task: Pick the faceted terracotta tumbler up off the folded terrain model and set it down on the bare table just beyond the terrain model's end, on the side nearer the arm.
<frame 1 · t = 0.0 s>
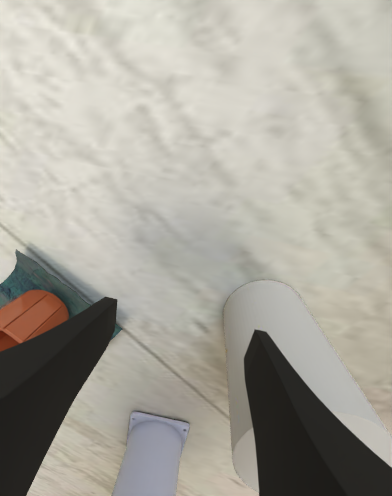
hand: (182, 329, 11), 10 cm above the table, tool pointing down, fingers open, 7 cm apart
white cylinder: (262, 313, 23), on the table
faceted terracotta tumbler: (44, 311, 22), point 2 cm above the table, touching terrain model
terrain model: (65, 302, 24), on the table, touching faceted terracotta tumbler
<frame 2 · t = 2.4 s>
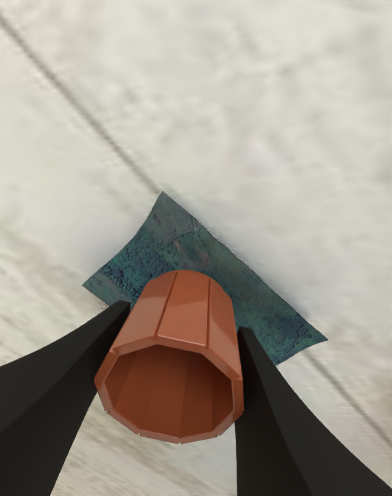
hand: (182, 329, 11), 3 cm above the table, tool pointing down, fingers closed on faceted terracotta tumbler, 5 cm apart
faceted terracotta tumbler: (185, 309, 13), point 2 cm above the table, touching gripper
terrain model: (204, 294, 15), on the table
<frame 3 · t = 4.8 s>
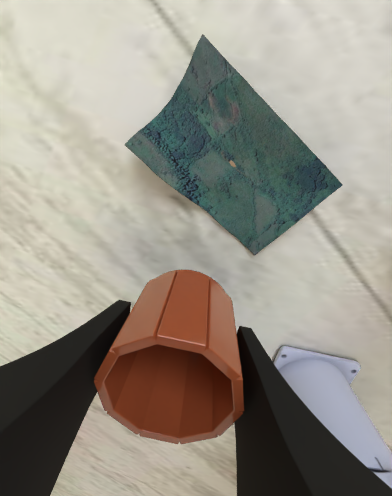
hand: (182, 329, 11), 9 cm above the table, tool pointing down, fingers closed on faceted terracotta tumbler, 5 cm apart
faceted terracotta tumbler: (185, 309, 13), point 7 cm above the table, touching gripper
terrain model: (230, 165, 16), on the table
when the fingers open (2 cm above the table, at t = 7.3 s): faceted terracotta tumbler stays where it is, on the table.
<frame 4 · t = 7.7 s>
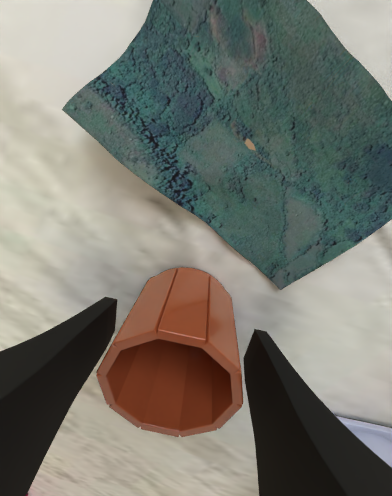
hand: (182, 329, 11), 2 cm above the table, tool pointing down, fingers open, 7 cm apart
faceted terracotta tumbler: (185, 306, 13), on the table
terrain model: (244, 148, 10), on the table
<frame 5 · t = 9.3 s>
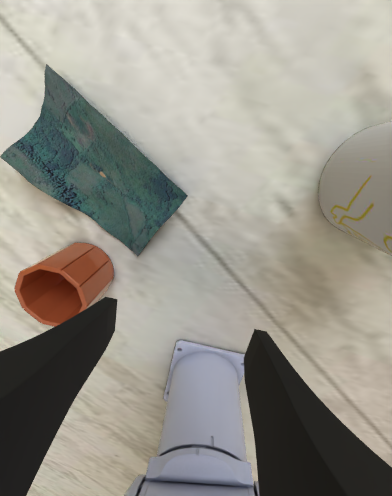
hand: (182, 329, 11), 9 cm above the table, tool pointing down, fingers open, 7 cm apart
white cylinder: (372, 183, 17), on the table
faceted terracotta tumbler: (87, 267, 21), on the table
terrain model: (104, 175, 18), on the table
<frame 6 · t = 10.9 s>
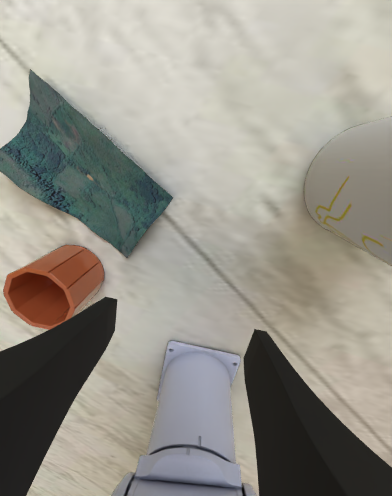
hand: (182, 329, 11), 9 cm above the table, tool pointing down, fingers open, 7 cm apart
white cylinder: (357, 182, 17), on the table
faceted terracotta tumbler: (78, 269, 21), on the table
terrain model: (92, 178, 18), on the table
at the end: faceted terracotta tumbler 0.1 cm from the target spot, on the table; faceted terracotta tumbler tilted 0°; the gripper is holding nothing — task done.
